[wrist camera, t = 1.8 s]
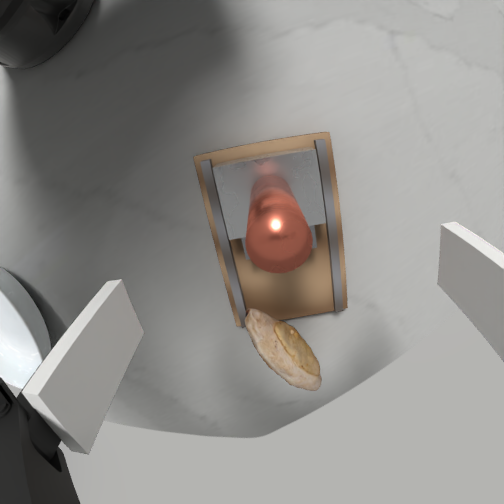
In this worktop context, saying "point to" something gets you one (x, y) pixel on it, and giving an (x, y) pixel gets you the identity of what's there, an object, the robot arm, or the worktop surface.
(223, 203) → the copper peg on base
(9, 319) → the serving bowl
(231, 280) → the railed wooden base plate
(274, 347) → the tan elongated oval piece
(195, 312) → the worktop surface
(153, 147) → the worktop surface
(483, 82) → the worktop surface
